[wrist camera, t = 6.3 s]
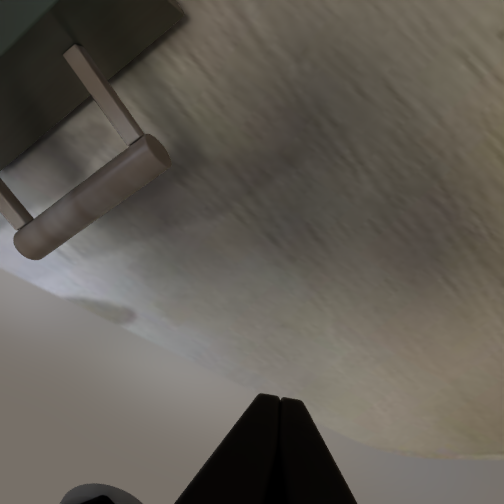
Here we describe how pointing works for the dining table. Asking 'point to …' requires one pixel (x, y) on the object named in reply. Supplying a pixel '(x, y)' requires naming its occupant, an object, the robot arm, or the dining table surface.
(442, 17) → the dining table surface
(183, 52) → the dining table surface
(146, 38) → the drawer
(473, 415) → the dining table surface
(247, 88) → the dining table surface
